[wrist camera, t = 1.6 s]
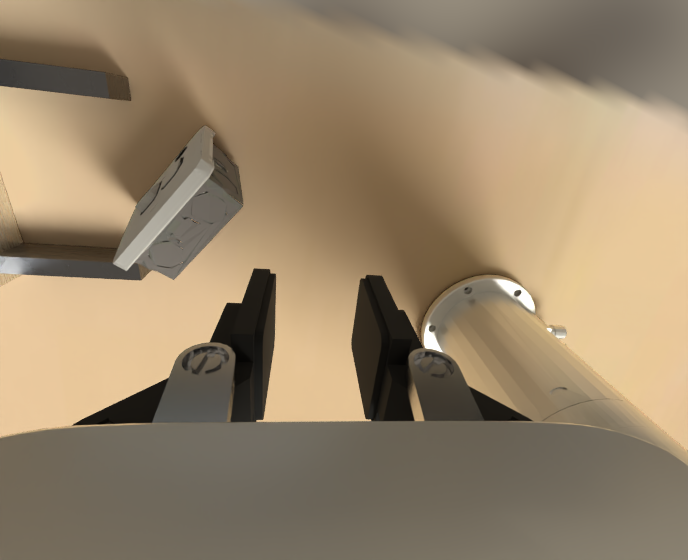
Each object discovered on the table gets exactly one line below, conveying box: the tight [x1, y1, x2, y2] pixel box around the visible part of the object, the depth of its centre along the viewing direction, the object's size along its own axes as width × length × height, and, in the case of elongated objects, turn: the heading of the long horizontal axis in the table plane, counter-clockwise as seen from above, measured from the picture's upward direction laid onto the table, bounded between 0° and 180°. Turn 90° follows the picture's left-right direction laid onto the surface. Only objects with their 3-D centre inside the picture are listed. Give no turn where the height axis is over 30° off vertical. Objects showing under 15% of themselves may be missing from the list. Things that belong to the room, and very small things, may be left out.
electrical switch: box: [113, 125, 243, 280], centre depth 24 cm, size 9×5×9 cm, turn 133°
